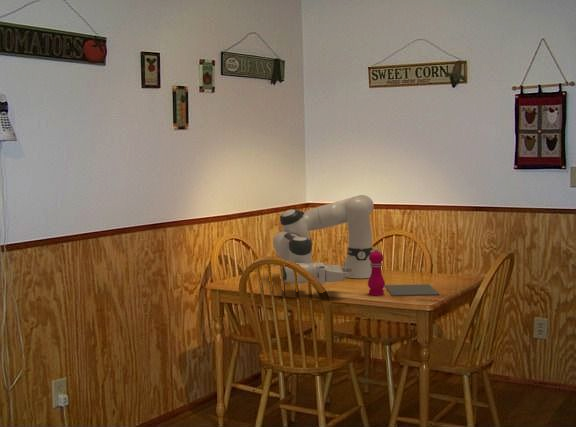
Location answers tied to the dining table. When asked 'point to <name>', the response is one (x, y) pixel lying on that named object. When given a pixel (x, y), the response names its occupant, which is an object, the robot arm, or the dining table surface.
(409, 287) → the mat
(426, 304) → the dining table surface
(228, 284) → the dining table surface
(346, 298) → the dining table surface
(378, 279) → the pepper mill
